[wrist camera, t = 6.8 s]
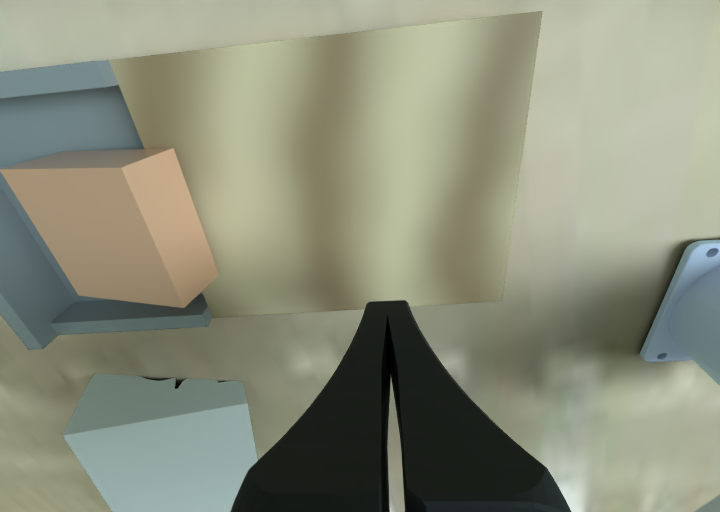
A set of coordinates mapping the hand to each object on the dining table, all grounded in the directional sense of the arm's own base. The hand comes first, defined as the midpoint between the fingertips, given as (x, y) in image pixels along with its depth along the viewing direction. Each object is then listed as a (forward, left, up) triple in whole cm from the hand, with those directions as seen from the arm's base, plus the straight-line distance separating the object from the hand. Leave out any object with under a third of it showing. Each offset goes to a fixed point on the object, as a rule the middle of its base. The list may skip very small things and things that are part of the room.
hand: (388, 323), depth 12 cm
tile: (+11, -3, -5) cm, 12 cm away
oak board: (+2, -3, -6) cm, 7 cm away
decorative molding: (+17, +26, -7) cm, 32 cm away
